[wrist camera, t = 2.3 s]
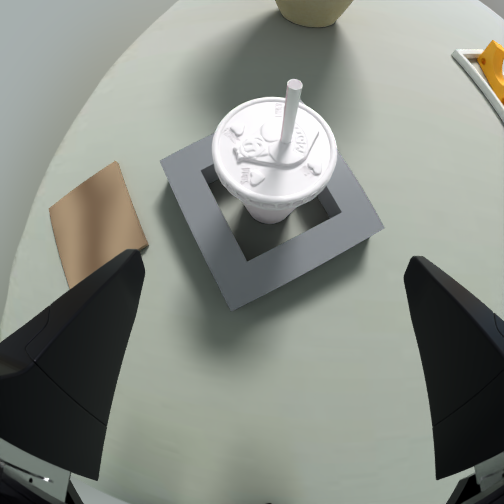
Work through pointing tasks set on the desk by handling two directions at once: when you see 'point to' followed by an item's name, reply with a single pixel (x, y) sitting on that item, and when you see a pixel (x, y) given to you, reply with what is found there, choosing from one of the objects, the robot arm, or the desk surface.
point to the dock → (284, 255)
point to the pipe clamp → (493, 67)
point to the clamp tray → (478, 76)
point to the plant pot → (312, 11)
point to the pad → (95, 224)
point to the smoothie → (274, 154)
